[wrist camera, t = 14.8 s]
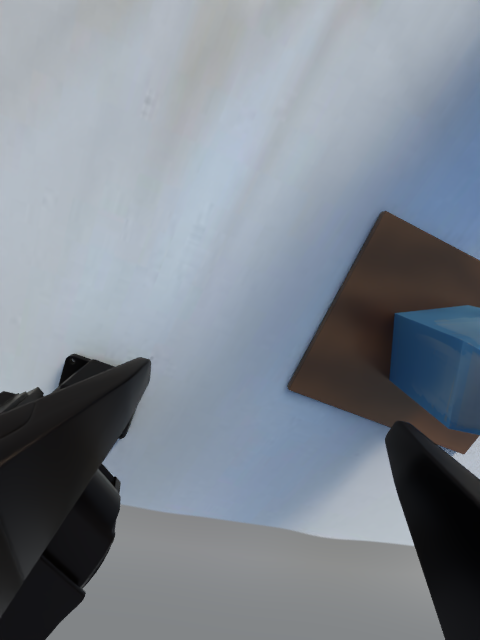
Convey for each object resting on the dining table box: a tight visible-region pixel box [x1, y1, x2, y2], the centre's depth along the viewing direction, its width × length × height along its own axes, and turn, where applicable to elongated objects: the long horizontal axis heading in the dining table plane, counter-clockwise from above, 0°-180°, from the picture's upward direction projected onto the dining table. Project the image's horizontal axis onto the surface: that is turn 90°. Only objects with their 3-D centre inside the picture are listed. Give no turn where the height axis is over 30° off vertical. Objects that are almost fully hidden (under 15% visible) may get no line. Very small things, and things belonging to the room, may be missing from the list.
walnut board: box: [287, 211, 480, 454], centre depth 22 cm, size 16×20×1 cm
